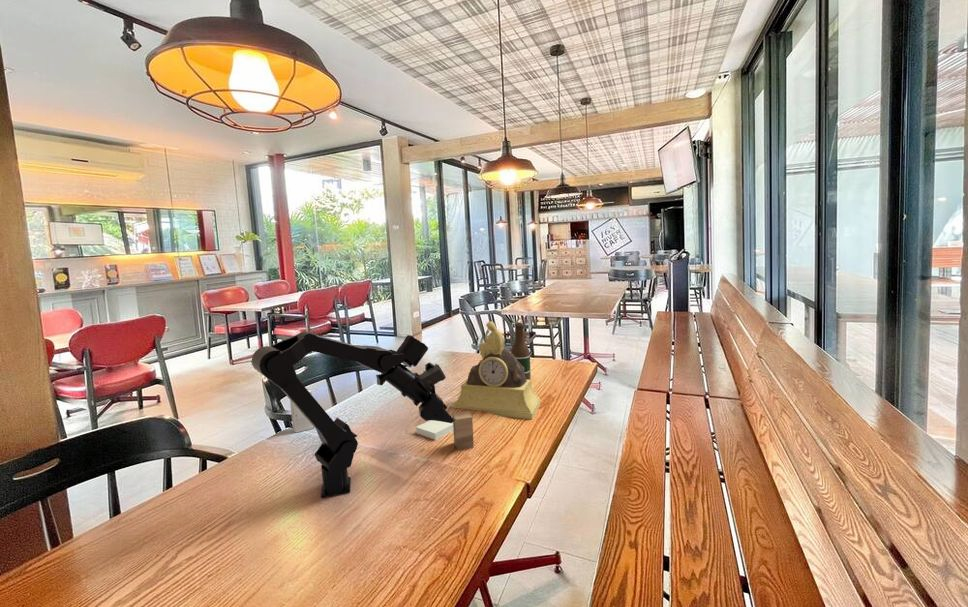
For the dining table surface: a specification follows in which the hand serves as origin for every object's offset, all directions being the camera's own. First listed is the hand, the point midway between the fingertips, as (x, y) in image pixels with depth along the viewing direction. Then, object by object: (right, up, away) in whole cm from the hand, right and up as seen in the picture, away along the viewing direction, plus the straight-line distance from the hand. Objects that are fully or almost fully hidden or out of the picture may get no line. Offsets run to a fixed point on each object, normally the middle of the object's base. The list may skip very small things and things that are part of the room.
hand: (449, 414), depth 115 cm
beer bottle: (+24, -2, +57) cm, 62 cm away
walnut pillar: (+4, -10, +2) cm, 11 cm away
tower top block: (-5, -8, +11) cm, 15 cm away
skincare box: (-48, -10, +21) cm, 53 cm away
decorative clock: (+14, -6, +31) cm, 34 cm away
